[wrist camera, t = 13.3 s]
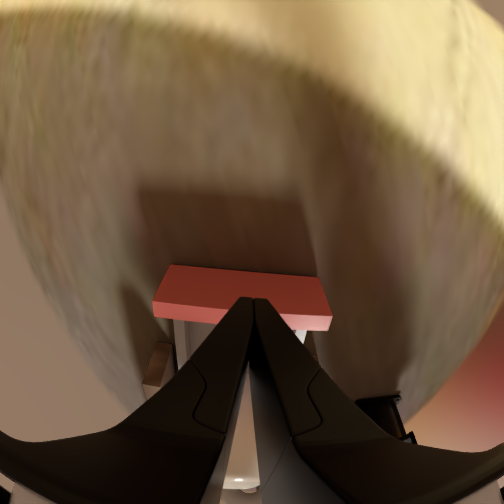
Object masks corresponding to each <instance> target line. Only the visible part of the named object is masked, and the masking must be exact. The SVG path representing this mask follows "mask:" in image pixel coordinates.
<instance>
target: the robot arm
mask: <svg viewBox="0 0 504 504" xmlns="http://www.w3.org/2000/svg"><path fill="white" fill-rule="evenodd" d="M248 361H249V364H248ZM248 367H249V380H250V391H251V401H252V411H253V421H254V431H255V441H256V451H257V461H258V470H259V479H260V488H261V498H262V504H504V487H502V488H501V489H500V488H499V485H498V482H497V480H498V479H499V478H500V477H502V476H503V475H504V443H501V444H499V445H498V446H496V447H494V448H492V449H490V450H488V451H484V452H474V453H470V452H459V451H452V450H445V449H439V448H433V447H427V446H423V445H418V444H417V441H416V439H415V436H414V433H413V431H411V432H409V433H408V434H406V432H405V429H404V426H403V423H402V420H401V417H400V415H399V412H398V409H397V406H396V405H397V404H398V403H399V402H400V400H401V396H400V395H397V396H390V397H382V398H373V399H363V400H358V401H356V402H355V403H354V402H352V401H351V400H350V399H349V397H348V396H347V395H346V394H345V393H344V392H343V391H342V390H341V389H340V388H339V387H338V386H337V385H336V384H335V383H334V381H333V380H332V379H331V378H330V377H329V376H328V374H327V373H326V372H325V371H324V369H323V368H321V366H320V365H319V363H318V362H317V361H316V360H315V358H314V357H313V356H312V355H311V353H310V352H309V351H308V350H307V348H306V347H305V346H304V345H303V343H302V342H301V341H300V340H299V338H298V337H297V336H296V335H295V333H294V332H293V331H292V329H291V328H290V327H289V326H288V324H287V323H286V322H285V321H284V319H283V318H282V317H281V316H280V314H279V313H278V312H277V310H276V309H275V308H274V307H273V305H272V304H271V303H270V301H269V300H268V299H266V298H254V300H253V298H252V297H243V296H241V297H239V298H238V299H237V300H236V302H235V303H234V304H233V305H232V307H231V308H230V309H229V310H228V312H227V313H226V314H225V315H224V316H223V318H222V319H221V320H220V321H219V323H218V324H217V325H216V326H215V327H214V329H213V330H212V331H211V332H210V334H209V335H208V336H207V337H206V338H205V340H204V341H203V342H202V343H201V344H200V346H199V347H198V348H197V349H196V350H195V352H194V353H193V354H192V355H191V356H190V358H189V360H187V361H186V362H185V363H184V365H183V366H182V367H181V368H180V369H179V370H178V372H177V373H176V374H175V375H174V376H173V377H172V378H171V379H170V380H169V381H168V382H167V383H166V384H165V385H164V386H163V387H162V388H161V389H160V390H158V391H157V392H156V393H155V394H154V395H153V396H152V397H151V398H149V399H148V400H147V401H146V402H145V403H144V404H142V405H141V406H140V407H139V408H138V409H137V410H135V411H134V412H133V413H132V414H131V415H129V416H128V417H127V418H126V419H125V420H123V421H122V422H121V423H119V424H118V425H116V426H114V427H112V428H110V429H108V430H105V431H101V432H97V433H92V434H87V435H83V436H76V437H71V438H65V439H59V440H52V441H46V442H25V441H21V440H17V439H14V438H12V437H10V436H8V435H7V434H5V433H3V432H2V431H0V472H1V473H2V474H3V475H5V476H6V477H8V478H9V479H11V480H12V481H13V482H15V484H14V487H13V490H12V493H11V492H9V491H8V490H6V489H5V488H4V487H2V486H1V485H0V504H219V502H220V498H221V494H222V489H223V485H224V480H225V475H226V471H227V466H228V462H229V457H230V452H231V448H232V443H233V438H234V433H235V428H236V424H237V419H238V414H239V409H240V404H241V399H242V394H243V389H244V384H245V379H246V374H247V368H248Z"/></svg>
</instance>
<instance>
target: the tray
mask: <svg viewBox="0 0 504 504" xmlns="http://www.w3.org/2000/svg"><path fill="white" fill-rule="evenodd" d="M241 296H243V297H252V298H253V300H254V298H266V299H268V300H269V301H270V303H271V304H272V305H273V307H274V308H275V309H276V310H277V312H278V313H279V314H280V316H281V317H282V318H283V319H284V321H285V322H286V323H287V324H288V326H289V327H290V328H291V329H292V331H293V332H294V333H295V335H296V336H297V337H298V338H299V340H300V341H301V342H302V343H303V342H304V339H305V336H306V332H307V330H314V331H328V329H329V326H330V323H331V320H332V317H333V316H332V313H331V310H330V307H329V304H328V301H327V299H326V296H325V293H324V290H323V287H322V285H321V282H320V279H319V277H307V276H295V275H282V274H270V273H258V272H247V271H235V270H224V269H214V268H203V267H193V266H183V265H173V264H170V266H169V268H168V270H167V272H166V274H165V276H164V278H163V280H162V282H161V284H160V286H159V288H158V290H157V292H156V294H155V296H154V298H153V301H152V303H153V311H154V317H161V318H169V319H173V323H174V334H175V344H176V353H177V361H178V369H180V368H181V367H182V366H183V365H184V363H185V362H186V361H187V360H189V358H190V356H191V355H192V354H193V353H194V352H195V350H196V349H197V348H198V347H199V346H200V344H201V343H202V342H203V341H204V340H205V338H206V337H207V336H208V335H209V334H210V332H211V331H212V330H213V329H214V327H215V326H216V325H217V324H218V323H219V321H220V320H221V319H222V318H223V316H224V315H225V314H226V313H227V312H228V310H229V309H230V308H231V307H232V305H233V304H234V303H235V302H236V300H237V299H238V298H239V297H241ZM248 364H249V361H248ZM247 373H249V367H248V368H247Z"/></svg>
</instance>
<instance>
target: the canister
mask: <svg viewBox="0 0 504 504" xmlns="http://www.w3.org/2000/svg"><path fill="white" fill-rule="evenodd" d="M258 485H260V479H259V470H258V461H257V451H256V441H255V431H254V421H253V411H252V401H251V391H250V380H249V373H247V374H246V379H245V384H244V389H243V394H242V399H241V404H240V409H239V414H238V419H237V424H236V428H235V433H234V438H233V443H232V448H231V452H230V457H229V462H228V466H227V471H226V475H225V480H224V485H223V488H224V489H247V488H253V487H256V486H258Z"/></svg>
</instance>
